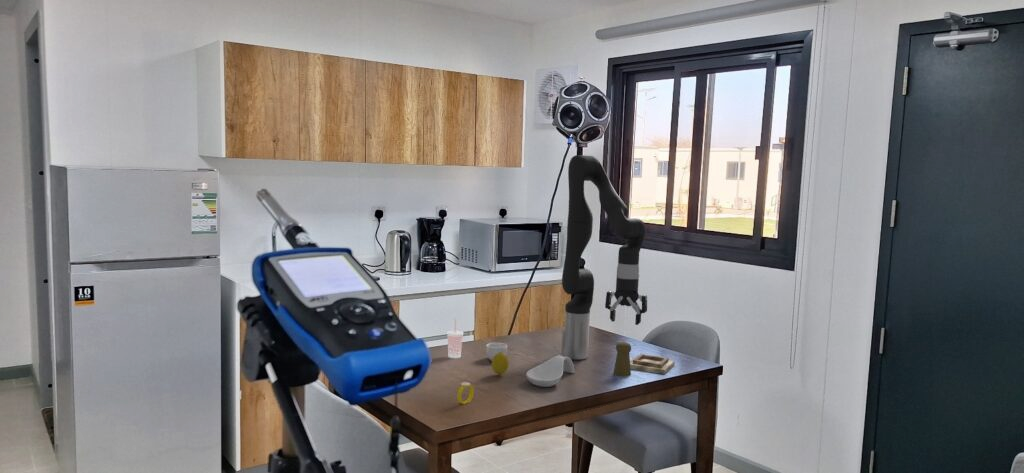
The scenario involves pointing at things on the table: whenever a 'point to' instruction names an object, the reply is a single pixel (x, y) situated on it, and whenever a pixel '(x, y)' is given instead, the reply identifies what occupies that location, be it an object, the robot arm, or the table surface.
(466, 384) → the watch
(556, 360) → the spoon rest
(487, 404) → the table surface
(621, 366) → the pepper mill
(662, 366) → the socket board
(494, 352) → the teacup
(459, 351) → the beverage cup
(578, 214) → the robot arm
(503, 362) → the lemon
